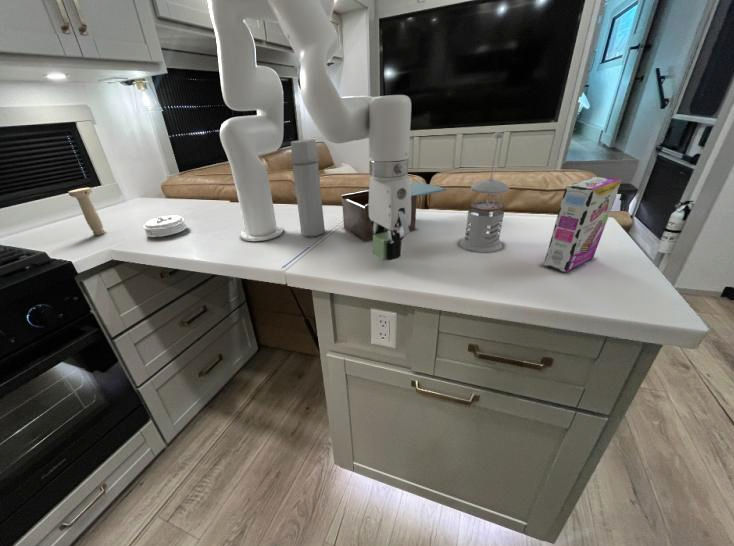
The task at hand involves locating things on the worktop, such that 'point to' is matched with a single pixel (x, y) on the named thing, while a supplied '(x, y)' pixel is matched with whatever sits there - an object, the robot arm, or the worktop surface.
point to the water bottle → (307, 186)
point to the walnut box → (365, 214)
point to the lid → (164, 226)
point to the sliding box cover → (424, 189)
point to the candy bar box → (581, 222)
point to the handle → (88, 209)
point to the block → (381, 245)
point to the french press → (485, 216)
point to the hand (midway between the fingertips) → (386, 253)
